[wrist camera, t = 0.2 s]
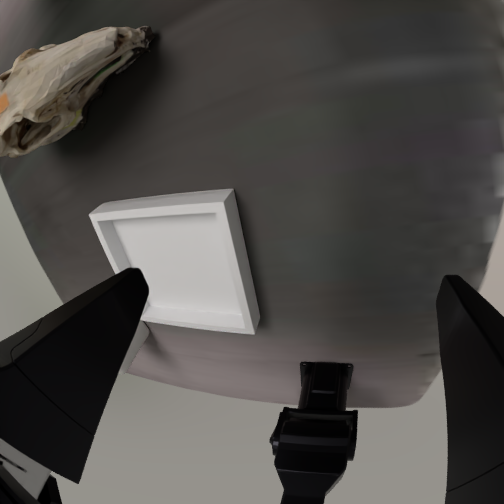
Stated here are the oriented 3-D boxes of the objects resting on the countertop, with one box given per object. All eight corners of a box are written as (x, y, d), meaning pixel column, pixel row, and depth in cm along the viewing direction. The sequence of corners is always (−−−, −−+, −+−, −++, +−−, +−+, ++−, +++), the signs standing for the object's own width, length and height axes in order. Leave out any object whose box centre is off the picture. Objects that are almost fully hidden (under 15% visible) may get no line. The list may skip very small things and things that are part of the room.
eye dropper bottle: (128, 329, 39) (88, 393, 29) (114, 301, 36) (66, 369, 26) (152, 335, 38) (113, 405, 28) (140, 307, 35) (91, 382, 25)
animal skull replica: (175, 81, 18) (77, 103, 10) (52, 151, 24) (-20, 194, 16) (147, -4, 14) (46, -18, 6) (30, 88, 20) (-44, 118, 12)
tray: (260, 316, 30) (254, 334, 28) (149, 306, 34) (140, 320, 32) (233, 188, 22) (223, 201, 20) (103, 202, 26) (88, 214, 24)
